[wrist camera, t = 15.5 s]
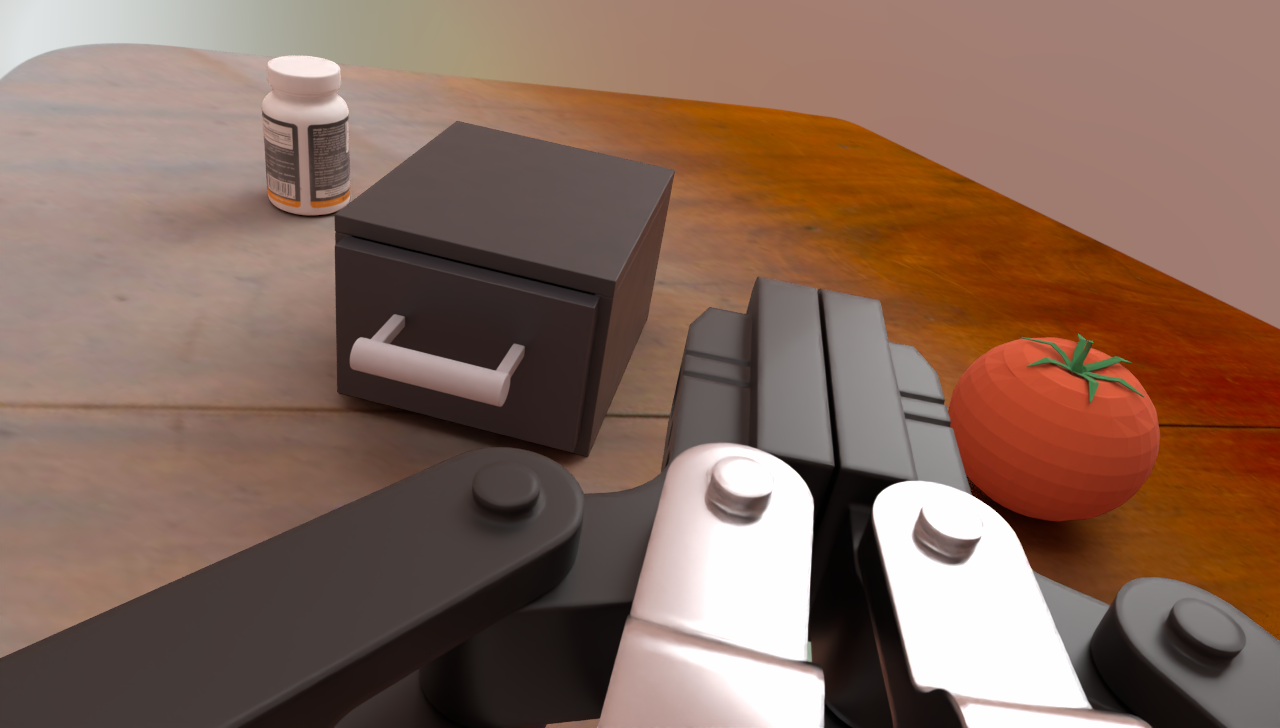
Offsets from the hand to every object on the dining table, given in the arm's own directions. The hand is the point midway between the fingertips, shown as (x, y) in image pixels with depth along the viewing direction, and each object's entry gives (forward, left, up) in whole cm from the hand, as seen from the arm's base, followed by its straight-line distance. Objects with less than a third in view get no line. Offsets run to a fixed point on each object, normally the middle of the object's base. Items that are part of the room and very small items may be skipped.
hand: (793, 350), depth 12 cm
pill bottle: (+24, -53, -25) cm, 64 cm away
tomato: (-22, -30, -25) cm, 45 cm away
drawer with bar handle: (+8, -34, -23) cm, 42 cm away
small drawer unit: (+7, -37, -24) cm, 45 cm away
